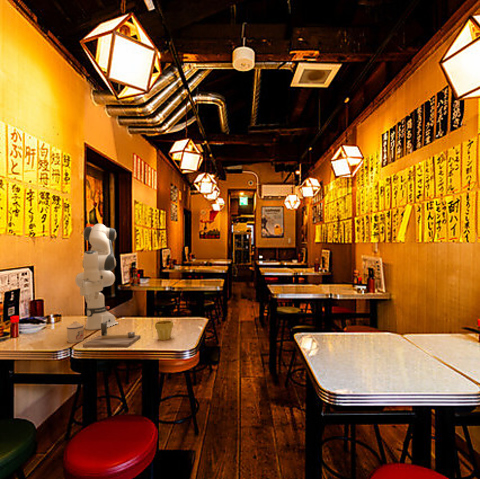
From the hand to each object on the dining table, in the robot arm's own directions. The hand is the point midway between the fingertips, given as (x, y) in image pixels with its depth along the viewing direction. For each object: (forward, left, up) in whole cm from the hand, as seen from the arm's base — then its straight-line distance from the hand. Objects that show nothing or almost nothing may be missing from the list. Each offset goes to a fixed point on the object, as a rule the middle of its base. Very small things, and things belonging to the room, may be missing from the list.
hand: (92, 300), depth 199 cm
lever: (-6, +15, -22) cm, 27 cm away
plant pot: (-19, +39, -24) cm, 49 cm away
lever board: (-1, +16, -24) cm, 28 cm away
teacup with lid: (+4, -9, -24) cm, 26 cm away
